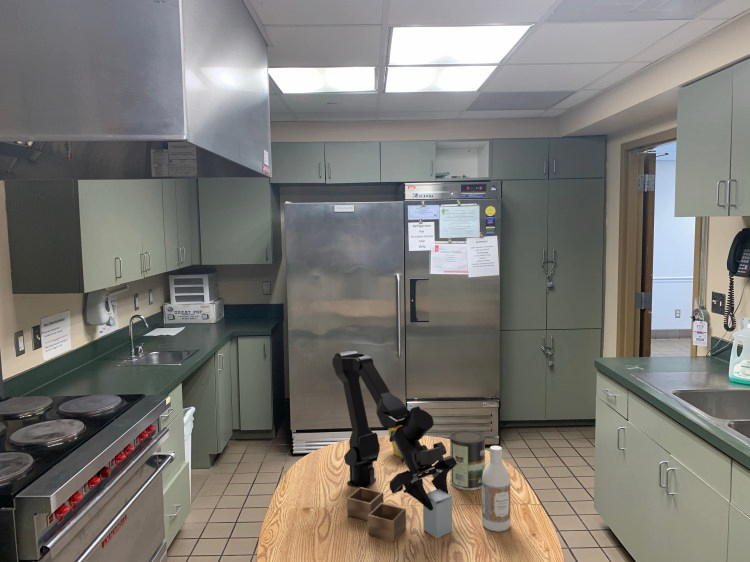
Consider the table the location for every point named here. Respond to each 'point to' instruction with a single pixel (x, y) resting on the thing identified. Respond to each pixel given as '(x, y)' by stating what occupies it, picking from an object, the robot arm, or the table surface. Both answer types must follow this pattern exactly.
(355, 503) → the box
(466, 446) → the coffee can
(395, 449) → the plant pot
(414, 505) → the table surface
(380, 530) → the box
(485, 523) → the bath foam
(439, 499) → the pale grey square pillar
